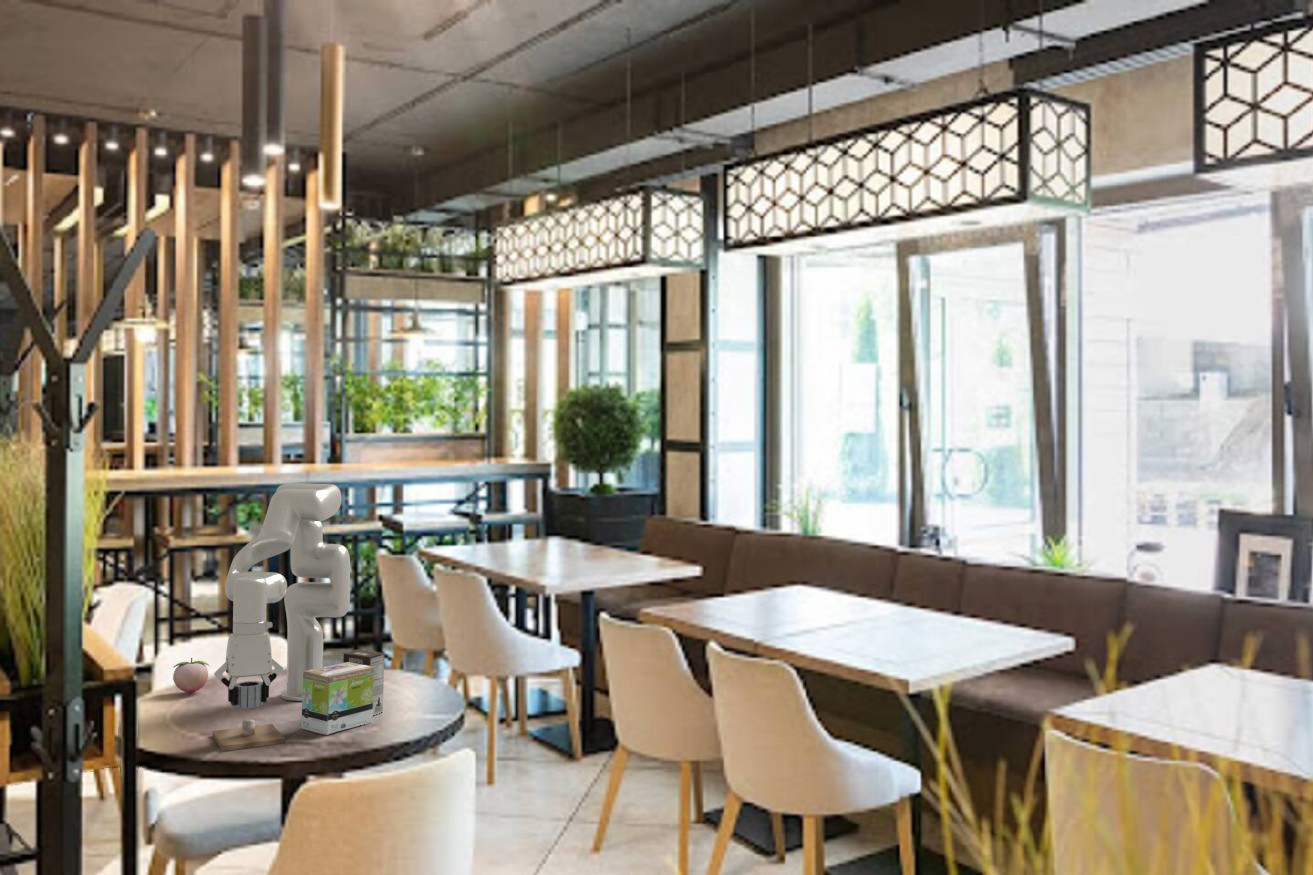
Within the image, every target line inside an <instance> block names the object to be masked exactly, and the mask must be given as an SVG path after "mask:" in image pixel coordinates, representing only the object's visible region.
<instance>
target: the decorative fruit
mask: <svg viewBox="0 0 1313 875" xmlns="http://www.w3.org/2000/svg"><path fill="white" fill-rule="evenodd" d="M206 665H207V666H208V667H210V664H209V663H207V662H206V661H203V660H194V661H193V657H191V658H190V662H189V661H181V662H179V663H176V664H175V665H174V666H173V667H172V669H173V668H175V669H174V672H173V674H172V675H173V676H172V680H173V683H174V685H175V686H176V688H178V689H179V690H181V691H183V692H185V693H188V694H189V695H190V694H193V693H196V692H197V691H199V690H200V689H202V688H203V687H205V685H206V684H207V682H208V679H209V670H208V667H207V666H206Z"/></svg>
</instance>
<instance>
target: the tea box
mask: <svg viewBox="0 0 1313 875" xmlns="http://www.w3.org/2000/svg"><path fill="white" fill-rule="evenodd" d="M373 684H374V667H371V666H367V665H362V664H357V663H352V662H346V663H343V662H341V663H336V664H332V665H328V666H323V667H322V668H317V669H312V670H307V671H304V673H303V694H302V701H301V719H300V720H301V723H300V724H301V726H300V728H301V729H303V730H306V731H309V732H312V733H317V734H320V735H325V736H328V735H331V734H334V733H338V732H341V731H344V730H348V729H352V728H355V727H360V725H361V726H364V724H365V725H369V724H372V723H373V717H374V716H373Z"/></svg>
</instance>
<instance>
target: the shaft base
mask: <svg viewBox="0 0 1313 875" xmlns="http://www.w3.org/2000/svg"><path fill="white" fill-rule="evenodd" d="M241 723H242V726H241V727H235V728H226V729H216V730H212V733H211V734H212V735H211V737H212V738H213V740H214V741H215V742H216V743H217V745H218V747H219V748H220V749H221V751H222V752H227V751H235V750H242V749H249V748H257V747H266V746H274V745H281V744H285V743H286V738H285V736H284V735H283V734H282V733H281V732H280V731H279V729H278V728H277V727H276V726H275V725H274V724H273V723H270V724H269V723H267V724H260V725H259V724H258V725H256V724H255V723H256V722H255V720H254V719H246V720H245V719H244V720H242V721H241Z"/></svg>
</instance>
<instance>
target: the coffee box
mask: <svg viewBox="0 0 1313 875" xmlns="http://www.w3.org/2000/svg"><path fill="white" fill-rule="evenodd" d="M342 660H343V662H342V663H346V662H352V663H357V664H362V665H367V666H371V667H374V684H373V715H375V714H378V715H380V714H379V713H381V712H383V713H384V681H385V680H384V679H385V652H380V651H373V650H366V649H362V648H358V649H354V650H350V651H347V652H345V653H343V659H342ZM381 714H382V713H381ZM375 716H376V715H375Z"/></svg>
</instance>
